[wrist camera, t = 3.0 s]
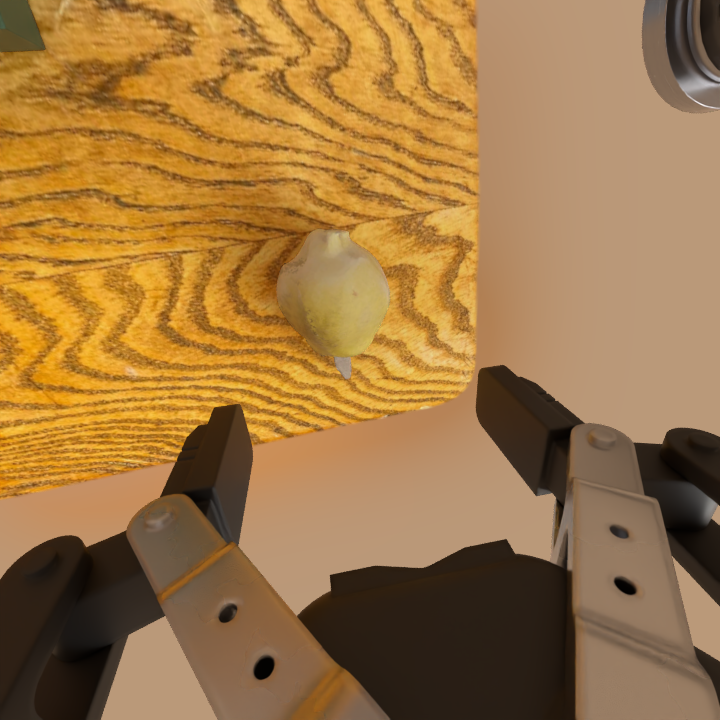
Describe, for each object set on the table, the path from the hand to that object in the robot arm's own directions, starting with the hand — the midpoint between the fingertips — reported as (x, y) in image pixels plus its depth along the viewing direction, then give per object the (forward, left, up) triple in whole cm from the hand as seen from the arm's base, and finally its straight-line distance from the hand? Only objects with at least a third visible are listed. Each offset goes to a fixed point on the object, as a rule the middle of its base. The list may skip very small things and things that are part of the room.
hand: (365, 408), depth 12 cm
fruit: (0, 0, -12) cm, 12 cm away
